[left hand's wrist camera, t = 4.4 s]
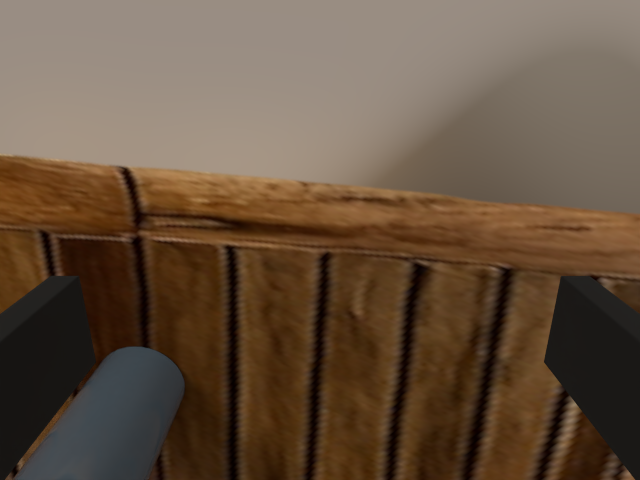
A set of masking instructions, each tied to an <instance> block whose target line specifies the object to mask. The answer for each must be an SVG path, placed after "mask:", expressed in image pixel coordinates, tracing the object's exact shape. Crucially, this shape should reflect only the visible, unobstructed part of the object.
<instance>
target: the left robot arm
mask: <svg viewBox="0 0 640 480" xmlns="http://www.w3.org/2000/svg"><path fill="white" fill-rule="evenodd" d="M95 363H96V360H95V354H94V349H93V344H92V339H91V334H90V329H89V324H88V319H87V314H86V309H85V304H84V299H83V294H82V289H81V284H80V279H79V276H50V277H49V278H48V279H46V280H45V281H44V282H42V283H41V284H40V285H38V286H37V287H36V288H34V289H33V290H32V291H30V292H29V293H28V294H26V295H25V296H24V297H22V298H21V299H20V300H18V301H17V302H16V303H14V304H13V305H12V306H10V307H9V308H8V309H6V310H5V311H4V312H2V313H1V314H0V480H5V479H6V477H7V476H8V475H9V473H10V472H11V471H12V470H13V468H14V467H15V466H16V464H17V463H18V462H19V461H20V459H21V458H22V457H23V455H24V454H25V453H26V452H27V450H28V449H29V448H30V446H31V445H32V444H33V442H34V441H35V440H36V439H37V437H38V436H39V435H40V433H41V432H42V431H43V430H44V428H45V427H46V426H47V424H48V423H49V422H50V421H51V419H52V418H53V417H54V415H55V414H56V413H57V412H58V410H59V409H60V408H61V406H62V405H63V404H64V403H65V401H66V400H67V399H68V397H69V396H70V395H71V394H72V392H73V391H74V390H75V388H76V387H77V386H78V384H79V383H80V382H81V381H82V379H83V378H84V377H85V375H86V374H87V373H88V372H89V370H90V369H91V368H92V366H93V365H94V364H95ZM544 363H545V364H546V365H547V366H548V368H549V369H550V370H551V372H552V373H553V374H554V375H555V377H556V378H557V379H558V381H559V382H560V383H561V384H562V386H563V387H564V388H565V390H566V391H567V392H568V394H569V395H570V396H571V397H572V399H573V400H574V401H575V403H576V404H577V405H578V406H579V408H580V409H581V410H582V412H583V413H584V414H585V415H586V417H587V418H588V419H589V421H590V422H591V423H592V424H593V426H594V427H595V428H596V430H597V431H598V432H599V433H600V435H601V436H602V437H603V439H604V440H605V441H606V442H607V444H608V445H609V446H610V448H611V449H612V450H613V452H614V453H615V454H616V455H617V457H618V458H619V459H620V461H621V462H622V463H623V464H624V466H625V467H626V468H627V470H628V471H629V472H630V473H631V475H632V476H633V477H634V479H635V480H640V314H639V313H638V312H636V311H635V310H634V309H632V308H631V307H630V306H628V305H627V304H626V303H624V302H623V301H622V300H620V299H619V298H618V297H616V296H615V295H614V294H612V293H611V292H610V291H608V290H607V289H606V288H604V287H603V286H602V285H600V284H599V283H598V282H596V281H595V280H594V279H592V278H591V277H590V276H561V279H560V284H559V289H558V294H557V299H556V304H555V309H554V314H553V319H552V324H551V329H550V334H549V339H548V344H547V349H546V354H545V360H544Z"/></svg>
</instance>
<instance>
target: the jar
mask: <svg viewBox="0 0 640 480" xmlns="http://www.w3.org/2000/svg"><path fill="white" fill-rule="evenodd" d="M184 391H185V384H184V379H183V376H182V374H181V372H180V370H179V369H178V367H177V366H176V365H175V364H174V362H173V361H171V360H170V359H169V358H168V357H166V356H165V355H163V354H162V353H160V352H158V351H155V350H152V349H149V348H144V347H126V348H122V349H118V350H116V351H114V352H112V353H111V354H109V355H108V356H107V357H106V358H105V359H104V360H103V361H102V362H101V364H100V365H99V366H98V367H97V369H96V370H95V371H94V373H93V374H92V375H91V377H90V378H89V379H88V381H87V382H86V383H85V385H84V386H83V387H82V389H81V390H80V391H79V393H78V394H77V395H76V397H75V398H74V399H73V401H72V402H71V403H70V405H69V406H68V407H67V408H66V410H65V411H64V412H63V414H62V415H61V416H60V418H59V419H58V420H57V422H56V423H55V424H54V426H53V427H52V428H51V430H50V431H49V432H48V434H47V435H46V436H45V438H44V439H43V440H42V442H41V443H40V444H39V446H38V447H37V448H36V449H35V451H34V452H33V453H32V455H31V456H30V457H29V459H28V460H27V461H26V463H25V464H24V465H23V467H22V468H21V469H20V471H19V472H18V473H17V475H16V476H15V477H14V479H13V480H149V477H150V475H151V472H152V470H153V468H154V465H155V463H156V461H157V458H158V456H159V453H160V451H161V449H162V446H163V444H164V442H165V439H166V437H167V434H168V432H169V430H170V427H171V425H172V423H173V420H174V418H175V416H176V413H177V411H178V408H179V406H180V404H181V401H182V399H183V396H184Z"/></svg>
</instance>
